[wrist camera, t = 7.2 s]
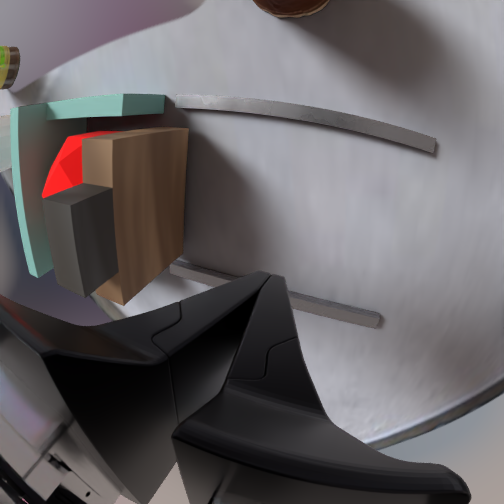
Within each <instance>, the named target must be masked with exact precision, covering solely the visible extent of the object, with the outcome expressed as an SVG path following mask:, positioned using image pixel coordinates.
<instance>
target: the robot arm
mask: <svg viewBox="0 0 504 504" xmlns="http://www.w3.org/2000/svg"><path fill="white" fill-rule="evenodd" d="M176 462H177V463H178V467H179V470H180V474H181V477H182V480H183V484H184V487H185V490H186V493H187V496H188V499H189V502H190V504H469V502H470V500H471V494H470V491H469V488H468V486H467V484H466V483H465V482H464V480H463V479H462V478H461V477H460V476H459V475H458V474H456V473H455V472H453V471H452V470H450V469H449V468H447V467H446V466H443V465H440V464H433V463H416V462H407V461H402V460H398V459H395V458H392V457H389V456H387V455H384V454H382V453H380V452H378V451H377V450H375V449H373V448H372V447H370V446H368V445H367V444H365V443H363V442H362V441H360V440H358V439H357V438H355V437H353V436H352V435H350V434H349V433H347V432H345V431H344V430H342V429H341V428H339V427H338V426H336V425H335V424H334V423H333V422H332V421H331V420H330V419H329V417H328V416H327V414H326V412H325V410H324V408H323V406H322V403H321V401H320V398H319V396H318V394H317V391H316V389H315V386H314V384H313V382H312V379H311V377H310V374H309V372H308V369H307V366H306V364H305V361H304V358H303V354H302V350H301V346H300V342H299V339H298V333H297V329H296V324H295V320H294V315H293V311H292V307H291V302H290V298H289V293H288V289H287V285H286V280H285V278H284V277H283V276H279V275H275V274H273V275H271V274H270V273H267V272H263V271H256V272H254V273H251V274H249V275H246V276H244V277H241V278H238V279H236V280H233V281H231V282H228V283H226V284H223V285H220V286H218V287H215V288H213V289H210V290H207V291H205V292H202V293H199V294H197V295H194V296H192V297H189V298H186V299H184V300H181V301H179V302H175V303H173V304H170V305H167V306H165V307H162V308H159V309H156V310H153V311H149V312H146V313H143V314H139V315H135V316H132V317H128V318H124V319H120V320H116V321H113V322H109V323H105V324H101V325H97V326H79V325H74V324H71V323H68V322H65V321H62V320H60V319H57V318H54V317H51V316H48V315H46V314H43V313H41V312H38V311H35V310H33V309H30V308H28V307H25V306H23V305H20V304H18V303H16V302H14V301H12V300H10V299H8V298H6V297H4V296H2V295H0V504H27V503H26V502H28V503H29V504H114V503H115V502H116V500H117V499H118V497H119V496H120V494H121V495H123V496H124V497H126V498H128V499H130V500H131V501H133V502H135V503H137V504H148V503H149V501H150V500H151V499H152V497H153V496H154V494H155V493H156V491H157V490H158V488H159V487H160V485H161V484H162V483H163V481H164V479H165V478H166V477H167V475H168V474H169V472H170V471H171V469H172V468H173V466H174V465H175V463H176ZM22 498H23V499H25V501H26V502H25V501H23V500H22Z"/></svg>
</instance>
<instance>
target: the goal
mask: <svg viewBox="0 0 504 504" xmlns="http://www.w3.org/2000/svg"><path fill="white" fill-rule="evenodd" d="M164 101H165V95H156V94H113V95H102V96H92V97H83V98H76V99H69V100H62V101H56V102H50V103H43V104H35V105H28V106H22V107H17V108H13V109H11V113H10V139H11V161H12V174H13V185H14V193H15V201H16V208H17V215H18V221H19V225H20V232H21V237H22V242H23V246H24V251H25V255H26V259H27V263H28V267H29V271H30V274H32V275H34V276H36V277H37V278H39V277H40V276H42V275H43V274H45V273H46V272H48V271H49V270H51V269H52V268H54V266H53V262H52V257H51V252H50V247H49V241H48V235H47V229H46V223H45V216H44V208H43V200H42V199H43V197H42V193H43V190H44V186H45V183H46V180H47V177H48V174H49V171H50V168H51V166H52V165H53V163H54V161H55V159H56V157H57V155H58V153H59V151H60V150H61V148H62V146H63V144H64V143H65V141H66V139H67V137H69V136H74V135H79V134H84V133H87V117H100V116H127V115H141V114H159V113H164Z"/></svg>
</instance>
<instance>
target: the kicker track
mask: <svg viewBox="0 0 504 504" xmlns="http://www.w3.org/2000/svg"><path fill="white" fill-rule="evenodd" d="M175 108H197V109H213V110H226V111H236V112H246V113H255V114H263V115H271V116H278V117H285V118H291V119H297V120H303V121H309V122H314V123H320V124H325V125H330V126H334V127H339V128H344V129H348V130H353V131H357V132H361V133H365V134H369V135H373V136H377V137H381V138H385V139H388V140H392V141H395V142H399V143H402V144H406V145H409V146H412V147H415V148H419V149H422V150H425V151H428V152H431V153H434V148H435V143H436V138H433V137H430V136H427V135H424V134H421V133H418V132H414V131H411V130H408V129H405V128H401V127H398V126H394V125H391V124H387V123H383V122H380V121H376V120H372V119H368V118H364V117H360V116H355V115H351V114H346V113H342V112H337V111H332V110H327V109H321V108H316V107H310V106H304V105H298V104H291V103H284V102H277V101H269V100H260V99H250V98H239V97H226V96H209V95H176V101H175ZM170 274H173V275H177V276H180V277H183V278H186V279H190V280H193V281H196V282H200V283H203V284H206V285H210V286H213V287H218V286H220V285H223V284H226V283H228V282H231V281H233V280H236V279H238V277H234V276H231V275H227V274H223V273H220V272H216V271H213V270H209V269H205V268H202V267H198V266H195V265H191V264H188V263H184V262H181V261H177V260H175V261H174V262H172V263H171V264H170ZM288 293H289V298H290V302H291V307H292V308H293V309H297V310H301V311H305V312H308V313H312V314H316V315H320V316H324V317H328V318H333V319H337V320H341V321H345V322H349V323H353V324H358V325H362V326H366V327H371V328H375V329H376V326H377V324H378V322H379V320H380V316H379V313H376V312H372V311H368V310H364V309H360V308H355V307H351V306H347V305H343V304H339V303H335V302H331V301H327V300H323V299H319V298H315V297H311V296H307V295H303V294H299V293H295V292H291V291H288Z"/></svg>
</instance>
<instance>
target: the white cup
mask: <svg viewBox="0 0 504 504" xmlns="http://www.w3.org/2000/svg"><path fill="white" fill-rule="evenodd" d="M11 167H12V161H11V139H10V115H6V116H0V172H2V171H4V170H7V169H9V168H11Z"/></svg>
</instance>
